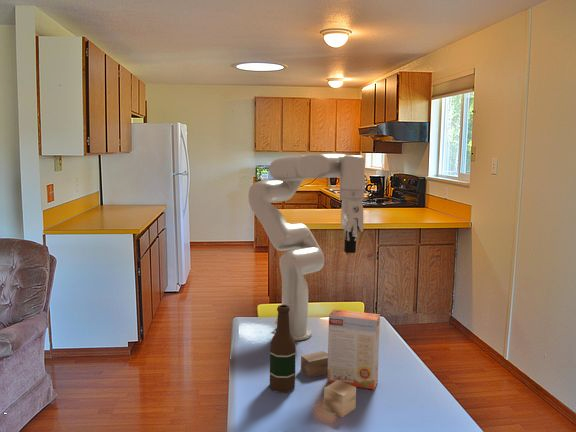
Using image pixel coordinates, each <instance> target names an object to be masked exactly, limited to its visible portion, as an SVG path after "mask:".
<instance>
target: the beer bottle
mask: <svg viewBox="0 0 576 432" xmlns="http://www.w3.org/2000/svg"><path fill="white" fill-rule="evenodd" d="M276 311H277V318H278V320H277V319H276V320H277V324H276V332H275V333H274V335H273V336H272V339H271V341H270V346H269V347H270V348H269V388H270V390H272V391H274V392H276V393H289V392H291V391H294V390H295V388H296V387H295V386H296V357H297V356H296V354H297V353H296V350H297V349H296V347H297V345H296V341H295V340H294V337H293V336H292V334H291V333H290V328H289V311H290V308H289V306H287V305H282V304H280V305H278V306H277V309H276Z"/></svg>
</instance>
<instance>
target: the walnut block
mask: <svg viewBox="0 0 576 432" xmlns="http://www.w3.org/2000/svg"><path fill="white" fill-rule="evenodd" d="M300 372H302V373H303V374H305V376H307V377H308V378H311V377H315V376H320V375H324V374H328V352H326V351H324V350H321V351H317V352H311V353H306V354H303V355H302V354H301V355H300Z"/></svg>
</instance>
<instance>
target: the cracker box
mask: <svg viewBox="0 0 576 432" xmlns="http://www.w3.org/2000/svg"><path fill="white" fill-rule="evenodd" d="M380 318H381V315H380V314H379V313H371V312H370V313H369V312H362V311H353V310H345V309H336V308H334V309H333V310H332V311H331V312H330V313H329V314H328V335H327V336H328V338H327V340H328V342H327V343H328V346H327V354H328V373H327V383H330V384H332V383H333V382H335V381H337V380H339V381H342V382H344V383H347V384H349V385H352V386H354V387H356V388H361V389H367V390H371V391H372V390H373V391H374V390H375V389H376V386H377V384H378V381H379V353H380V352H379V351H380V322H381V320H380Z"/></svg>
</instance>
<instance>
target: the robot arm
mask: <svg viewBox="0 0 576 432" xmlns="http://www.w3.org/2000/svg"><path fill="white" fill-rule="evenodd" d="M268 171H269V175H270V176H271V177H272V178H273V179H265V180H264V179H263V180H259V181H256V182H254V183H252V184H251V185H250V187H249V189H248V203H249V206H250V209H251V210H252V212H253V214H254V215H255V217H256V218H257V220H258V221H259V222H260V224H261V225H262V227H263V229H264V231H265V233H266V235H267V236H268V239H269V241H270V242H271V245H272V246H273V248H274V249H275V250H277V251H280V252H282V251H285V252H283V254H281V256H280V257H279V263H278V264H279V269H280V271H279V272H280V275H281V305H287V306H289V308H290V311H289V328H290V333H291V334H292V336H293V337H294V340H295V342H296V341H297V342H298V341H303V340H307V339H309V338H310V337H311V336H312V334H313V333H312V332H313V331H312V329H310V328H309V327H308V325H309V320H308V319H309V285H308V282H307V281H306V278H305V276H304V275H307V274H312V273H316V272H318V271H321V270H322V269H323V267H324V266H325V255H324V252H323V251H322V249H321V247H320V245H319V244H318V242H317V239H316V238H315V236H314V235H313V232H312V231H311V229H310V228H309V227H308V226H307V225H306V224H304V223H301V222H294V223H293V222H291V223H289V222H288V221H286V218H285V217H284V215H283V214H282V212H281V210H279V209H278V208H277V207H276V206H274V205H273V204H272V203H280V202H286V201H289V200H291V198H293V197H294V195H296V193H297V191H298V190H299V187H300V186H301V185H302V183H303V181H306V180H309V179H310V180H311V179H326V178H327V179H328V178H329V179H330V178H339V200H341V209H340V211H341V212H340V226H341V228H342V229H343V231H344V251H343V252H345V254H356V252H357V251H356V250H357V246H356V245H357V237H358V232H360V233H362V232H364V203H363V201H364V199H365V198H364V197H365V178H366V177H365V171H366V159H365V157H364V156H362V155H357V154H356V155H354V154H344V153H318V154H317V153H316V154H310V155H309V154H307V155H295V156H286V157H278V158H276V159H274V160H272V162H271V163H270V165H269V169H268ZM277 320H278V317H277V318H276V320H275V321H274V325H277Z"/></svg>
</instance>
